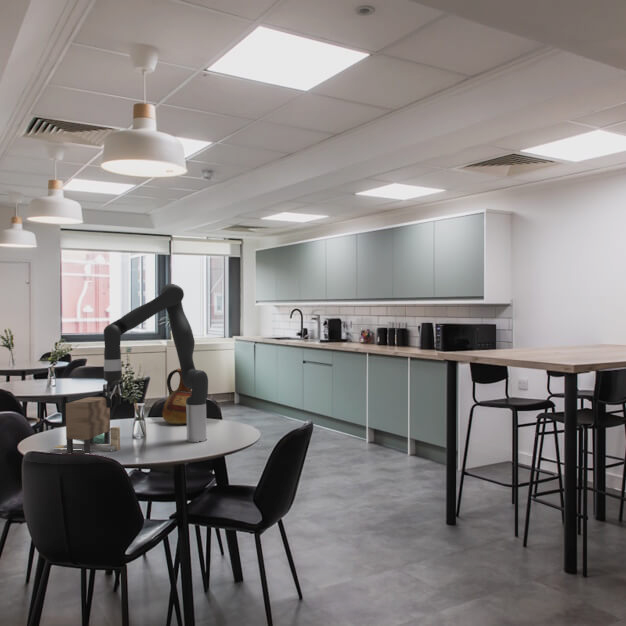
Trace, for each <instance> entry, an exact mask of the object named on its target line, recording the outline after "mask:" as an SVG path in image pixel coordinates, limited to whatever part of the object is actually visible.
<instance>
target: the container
mask: <svg viewBox="0 0 626 626" xmlns="http://www.w3.org/2000/svg"><path fill="white" fill-rule="evenodd" d="M95 442H96V443H95ZM94 443H95V444H98V443H99V444H104V433H103V434H101V435H98V436H96V437H94Z"/></svg>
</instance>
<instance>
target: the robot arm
mask: <svg viewBox="0 0 626 626" xmlns="http://www.w3.org/2000/svg"><path fill="white" fill-rule="evenodd" d="M184 297H185V293H184V289H183V288H182V287H180V285H177V284H174V283H166V284H165V285H164V286H163V287H162V288H161V291H160V294H159V295H158V296H156V297H155V298H154V299H152V300H150V301H148V302H146V303H144V304H142V305H140V306H138V307H136V308H134V309H132V310H130V311H129V312H128V313H125V314H124V315H123V316H121V317H120V318H118V319H117V320H115V321H113V322H111V323H110V324H108V325H106V326H105V328H104V329H103V338H104V351H103V357H104V358H103V359H104V361H103V379H104V381H106V384H105V383H104V384H103V386H102V397H103V398H105V399H106V407H107V408H110V409H111V408H112V407H113V406H112V405H113V403H112V401H113V400H112V397H113V395H114V396H115V397H114V398H115V400H114V401H115V405H116V406H119V405H121V404H122V403H121V401H122V399H121V397H122V396H123V394H124V382H123V380H122V379H123V375H122V374H123V372H122V370H123V369H122V367H123V366H122V353H121V352H122V351H121V336H122V335H124V334H126V333H127V332H128V331H131V330H133V329H135V328H137V327H138V326H139V325H140V324H142V323H144V322H145V321H147V320H149V319H150V318H152V317H153V316H155V315H156V314H159V313H160V312H162V311H164V310H166V311H167V315H168V320H169V327H170V330H171V334H172V335H171V337H172V340H173V343H174V347H175V349H176V354H177V358H178V363H179V367H180V368H179V369H181V375H182V380H183V383H184V385H185V387H187V388H189V389H191V391H192V393H191V396H190V397H188V398H187V399H186V413H187V424H186V441H187V442H189V443H198V442H199V441H201V442H205V441H207V440H208V439H207V437H208V435H207V433H208V432H207V427H208V425H207V399H208V397H209V378H208V375H207V372H205V371H204V370H201V369H196V366H195V363H194V360H193V358H194V357H193V356H194V355H193V354H194V350H195V344H196V342H195V337H194V333H193V329H192V327H191V324H190V323H189V319H188V318H187V316H186V313H185V311H184V308H183V307H184V306H183V303H182V301H183V299H184ZM206 439H207V440H206ZM199 443H200V442H199Z"/></svg>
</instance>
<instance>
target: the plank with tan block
mask: <svg viewBox="0 0 626 626" xmlns="http://www.w3.org/2000/svg"><path fill="white" fill-rule="evenodd" d="M64 448H67V444H65V446H64ZM73 449H82V450H84V443H74V442H73ZM119 449H120V450H121V427H120V426H112V427H110V444H98V443H94V444H90V450H91V451H90V452H116V451H115V450H118V451H120V450H119ZM111 450H112V451H111Z"/></svg>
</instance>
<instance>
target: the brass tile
mask: <svg viewBox="0 0 626 626" xmlns="http://www.w3.org/2000/svg"><path fill="white" fill-rule="evenodd" d="M65 445H66V444H65ZM65 445H63V444H59V445H57V446H54V447H53V448H64V446H65Z"/></svg>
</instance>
